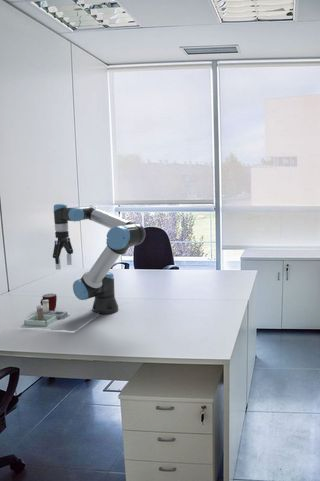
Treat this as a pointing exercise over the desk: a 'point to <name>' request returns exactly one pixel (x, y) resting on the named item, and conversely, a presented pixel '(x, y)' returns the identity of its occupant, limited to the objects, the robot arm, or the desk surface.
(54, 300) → the mug
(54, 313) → the block
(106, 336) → the desk surface
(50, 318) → the tray
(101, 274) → the robot arm
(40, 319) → the fuse
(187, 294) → the desk surface
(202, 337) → the desk surface
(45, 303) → the fuse
